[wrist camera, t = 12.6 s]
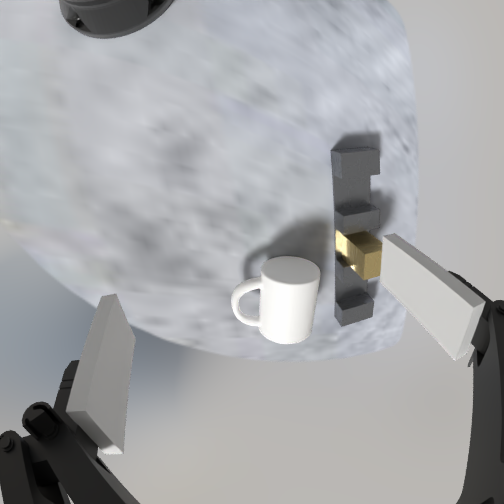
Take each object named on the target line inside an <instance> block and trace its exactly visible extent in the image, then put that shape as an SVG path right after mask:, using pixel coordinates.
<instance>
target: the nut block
mask: <svg viewBox="0 0 504 504" xmlns="http://www.w3.org/2000/svg"><path fill="white" fill-rule="evenodd" d="M382 244H383V243H382V242H381V241H379V240H378V239H377V238H375V237H374V236H373V235H371V234H370V233H369V232H367V231H362V232H357V233H353V234H348V235H343V234H342V259H343V260H344V261H345V262H346V263H347V264H348V265H349V266H350V267H351V268H352V269H353V270H354V271H355V272H356V273H357V274H358V275H359V276H360V277H361V278H362V279H363V280H367V279H370V278H374V277H377V276H380V272H381V259H382Z"/></svg>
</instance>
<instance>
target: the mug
mask: <svg viewBox="0 0 504 504" xmlns="http://www.w3.org/2000/svg"><path fill="white" fill-rule="evenodd" d="M319 281H320V269H319V268H318V266H317V265H316V264H314V263H313V262H311V261H309V260H307V259H304V258H300V257H293V256H281V257H275V258H272V259H269V260H267V261H266V262H264V263H263V265H262V267H261V276H260V277H256V278H251V279H248V280H245V281H243V282H241V283H240V284H239V285H238V286H237V287H236V288H235V289H234V291H233V293H232V298H231V304H232V309H233V312H234V314H235V315H236V317H237V318H238V319H239V320H240V321H241V322H243V323H245V324H247V325H251V326H259V330H260V332H261V333H262V334H263V336H265V337H266V338H267V339H269V340H271V341H273V342H277V343H281V344H293V343H298V342H301V341H303V340H305V339H306V338H307V337H308V336H309V335H310V333H311V331H312V326H313V320H314V313H315V307H316V301H317V294H318V288H319ZM259 288H260V305H259V315H258V316H249V315H245V314H244V313H242V312H241V310H240V307H239V299H240V297H241V296H242V295H243V294H244V293H246V292H248V291H251V290H254V289H259Z"/></svg>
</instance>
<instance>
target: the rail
mask: <svg viewBox="0 0 504 504" xmlns="http://www.w3.org/2000/svg"><path fill="white" fill-rule="evenodd" d="M331 162H332V178H333V196H334V222H335V318H336V319H337V321H338V322H339V324H340V325H341V327H342V326H345V325H349V324H352V323H355V322H358V321H361V320H364V319H367V318H371V317H372V316H373V307H374V300H373V299H372V298H371V297H370V296H369V295H368V294H367V281H368V279H367V280H363V279H362V278H361V277H360V276H359V275H358V274H357V273H356V272H355V271H354V270H353V269H352V268H351V267H350V266H349V265H348V264H347V263H346V262H345V261H344V260H343V259H342V234H343V235H348V234H353V233H357V232H362V231H367V232H369V233H370V230H371V229H376V228H379V223H380V209H378V208H376V207H374V206H373V205H371V204H370V175H378V174H380V157H379V150H377V149H374V148H370V147H362V148H351V149H340V150H331Z"/></svg>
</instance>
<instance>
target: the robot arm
mask: <svg viewBox="0 0 504 504" xmlns="http://www.w3.org/2000/svg"><path fill="white" fill-rule="evenodd" d="M172 1H173V0H59V3H60V9H61V12H62V15H63V17H64V19H65V20H66V22H67V23H68V24H69V25H70V26H71V27H73V28H74V29H75V30H77V31H78V32H80V33H82V34H83V35H86V36H89V37H93V38H100V39H108V38H116V37H121V36H125V35H128V34H131V33H134V32H136V31H138V30H140V29H142V28H144V27H146V26H147V25H149V24H150V23H152V22H153V21H155V20H156V19H157V18H158V17H159V16H161V15H162V14H163V13H164V12H165V10H166V9H167V8H168V7H169V6H170V4H171V3H172ZM380 283H381V284H382V285H383V286H384V287H385V288H386V289H387V290H388V291H389V292H390V293H391V294H392V295H393V296H394V297H395V298H396V299H397V300H398V301H399V302H400V303H401V304H402V305H403V306H404V307H405V308H406V309H407V310H408V311H409V312H410V313H411V314H412V315H413V316H414V318H415V319H416V320H417V321H418V322H419V323H420V324H421V325H422V326H423V327H424V328H425V329H426V330H427V331H428V332H429V333H430V334H431V335H432V337H433V338H434V339H435V340H436V341H437V342H438V343H439V344H440V345H441V346H442V347H443V349H444V350H446V352H447V353H448V354H449V355H450V356H451V357H452V359H454V361H455V360H457V359H459V358H460V357H462V356H464V355H466V354H467V352H468V349H469V347H470V344H471V343H472V345H474V347H475V349H474V352H473V354H472V356H471V359H470V361H469V363H468V367H470V365H471V363H472V362H473V373H474V374H473V376H474V378H473V386H474V387H473V413H472V428H471V438H470V448H469V455H468V462H467V469H466V476H465V480H464V486H463V491H462V494H461V496H460V498H459V500H458V502H457V503H456V504H504V301H503V300H496V301H494V302H493V301H491V300H490V299H489V298H488V297H486V296H485V295H484V294H483V293H481V292H480V291H479V290H478V289H476V288H475V287H472V285H471V284H470V283H469V282H466V280H465V279H464V278H462V277H461V276H460V275H458V274H456V273H453V272H451V271H446V270H445V269H444V268H442V267H441V266H440V265H438V264H437V263H436V262H434V261H433V260H431V259H430V258H429V257H428V256H426V255H425V254H423V253H422V252H421V251H419V250H418V249H416V248H415V247H414V246H412V245H411V244H409V243H408V242H407V241H405V240H404V239H402V238H401V237H399V236H398V235H396V234H395V233H394V234H390V235H386V236H383V244H382V259H381V272H380ZM134 346H135V337H134V334H133V332H132V330H131V328H130V325H129V323H128V321H127V319H126V316H125V314H124V312H123V309H122V307H121V305H120V302H119V300H118V297H117V295H116V294H112V295H107V296H102V297H101V299H100V302H99V305H98V307H97V310H96V313H95V316H94V319H93V322H92V324H91V327H90V330H89V333H88V336H87V339H86V342H85V345H84V349H83V351H82V355H81V358H80V360H75V361H71V363H70V364H69V365H68V367H67V368H66V369H65V371H64V374H63V378H62V382H61V384H60V390H59V391H58V394H57V397H56V401H55V405H54V408H53V409H52V408H51V406H50V405H49V404H48V403H46V402H36V403H34V404H32V405H31V406H30V407H29V408H27V410H26V411H25V413H24V414H23V418H22V424H23V427H24V428H25V429H26V430H27V431H28V432H29V433H30V434H31V435H29V436H26V437H23V438H21V437H20V436H19V435H18V434H17V433H16V432H15V431H12V430H10V431H6V432H4V433H3V434H1V436H0V486H1V491H2V497H3V501H4V504H71V503H70V500H69V498H68V495H69V497H70V498H71V500H72V501H73V503H74V504H140V503H139V502H138V501H137V500H136V499H135V498H134V497H133V496H132V495H131V494H130V493H129V492H128V490H127V489H126V488H125V487H124V486H123V485H122V484H121V483H120V482H119V481H118V479H117V478H116V477H115V476H114V475H113V473H112V472H111V471H110V470H109V469H108V467H107V466H106V465H105V464H104V462H103V461H102V460H101V459H100V458H99V457H98V456H97V451H98V447H99V448H100V449H101V450H102V451H103V452H104V453H105V454H123V453H124V439H125V438H124V437H125V424H126V413H127V401H128V392H129V383H130V375H131V366H132V359H133V352H134ZM67 494H68V495H67Z"/></svg>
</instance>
